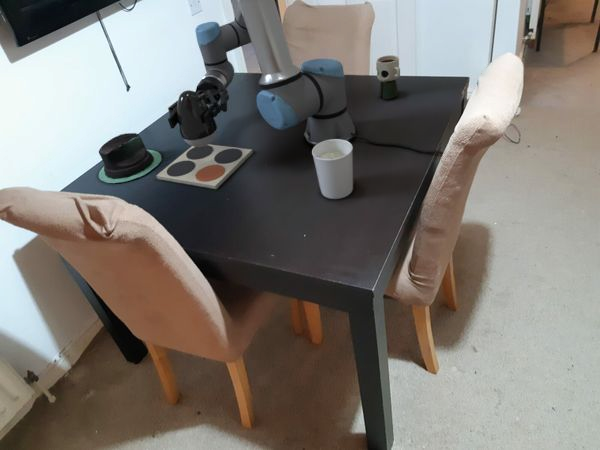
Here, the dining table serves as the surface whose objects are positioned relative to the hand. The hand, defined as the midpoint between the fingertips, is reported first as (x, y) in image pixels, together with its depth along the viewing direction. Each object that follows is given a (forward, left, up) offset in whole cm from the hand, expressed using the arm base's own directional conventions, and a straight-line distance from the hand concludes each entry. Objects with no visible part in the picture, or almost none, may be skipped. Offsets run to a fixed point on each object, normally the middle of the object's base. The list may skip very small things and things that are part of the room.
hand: (188, 122), depth 116 cm
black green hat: (+31, 0, -18) cm, 36 cm away
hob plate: (+5, -6, -18) cm, 20 cm away
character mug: (-35, -60, -18) cm, 72 cm away
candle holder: (-39, -4, -18) cm, 43 cm away
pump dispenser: (+1, -4, -9) cm, 10 cm away
